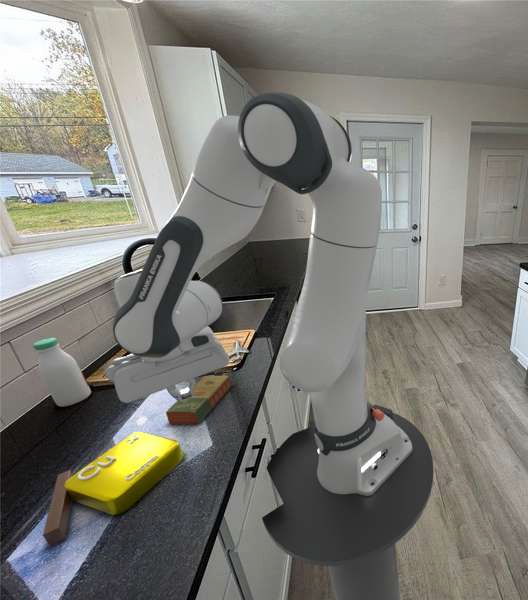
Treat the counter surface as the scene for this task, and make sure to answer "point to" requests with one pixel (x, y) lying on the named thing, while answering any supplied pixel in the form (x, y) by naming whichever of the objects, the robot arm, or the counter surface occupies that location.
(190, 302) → the robot arm
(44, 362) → the milk bottle
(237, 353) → the toy airplane
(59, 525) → the back rail
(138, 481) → the element tile
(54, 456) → the counter surface
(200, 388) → the carton
